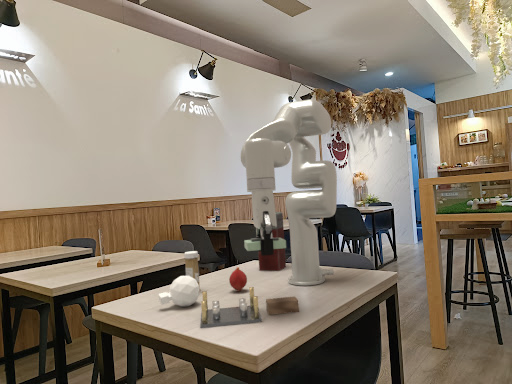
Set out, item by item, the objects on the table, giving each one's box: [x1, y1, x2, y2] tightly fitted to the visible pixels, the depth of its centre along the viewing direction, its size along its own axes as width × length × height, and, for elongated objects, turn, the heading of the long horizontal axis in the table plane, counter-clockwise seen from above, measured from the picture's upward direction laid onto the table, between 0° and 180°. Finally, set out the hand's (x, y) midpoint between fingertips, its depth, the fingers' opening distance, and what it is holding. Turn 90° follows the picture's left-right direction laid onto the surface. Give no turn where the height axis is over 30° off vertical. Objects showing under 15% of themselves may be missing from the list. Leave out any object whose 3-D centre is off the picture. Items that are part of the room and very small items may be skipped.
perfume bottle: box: [158, 275, 201, 308], centre depth 113 cm, size 9×9×12 cm
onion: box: [229, 266, 248, 292], centre depth 126 cm, size 6×6×8 cm
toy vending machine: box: [257, 211, 287, 272], centre depth 160 cm, size 9×11×28 cm
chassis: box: [199, 286, 263, 329], centre depth 100 cm, size 15×12×6 cm
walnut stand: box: [265, 296, 300, 315], centre depth 102 cm, size 8×4×3 cm, turn 97°
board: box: [243, 237, 287, 252], centre depth 101 cm, size 10×7×3 cm
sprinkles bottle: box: [183, 250, 201, 291], centre depth 129 cm, size 5×5×14 cm
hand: (265, 252), depth 101 cm, fingers closed on board, 7 cm apart
